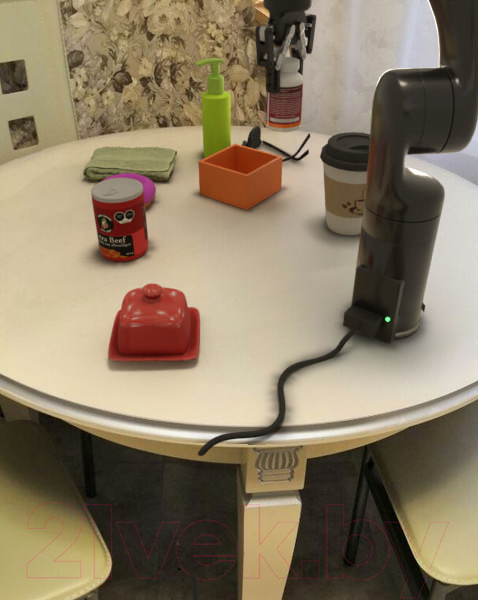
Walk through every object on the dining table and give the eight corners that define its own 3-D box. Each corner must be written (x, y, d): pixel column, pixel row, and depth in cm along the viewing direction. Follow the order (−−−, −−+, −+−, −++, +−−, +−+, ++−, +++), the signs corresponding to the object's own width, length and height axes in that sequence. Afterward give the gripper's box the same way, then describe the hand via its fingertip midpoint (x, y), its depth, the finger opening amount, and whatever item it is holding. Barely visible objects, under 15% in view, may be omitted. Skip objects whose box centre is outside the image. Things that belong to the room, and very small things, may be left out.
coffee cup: (329, 245, 101) (337, 159, 93) (305, 215, 110) (310, 133, 102) (392, 236, 104) (406, 151, 95) (363, 207, 113) (373, 126, 104)
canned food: (90, 255, 99) (79, 192, 92) (120, 234, 104) (112, 173, 98) (129, 267, 96) (121, 203, 89) (158, 244, 102) (152, 182, 95)
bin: (247, 210, 112) (247, 176, 108) (199, 194, 117) (198, 161, 113) (281, 189, 119) (282, 156, 115) (234, 174, 125) (234, 143, 121)
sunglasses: (303, 179, 123) (304, 155, 120) (233, 172, 126) (233, 148, 123) (317, 149, 136) (318, 126, 133) (253, 143, 139) (253, 121, 136)
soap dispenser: (195, 153, 134) (190, 57, 122) (224, 148, 136) (222, 53, 125) (205, 163, 129) (201, 64, 118) (235, 158, 132) (234, 60, 120)
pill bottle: (308, 128, 105) (312, 61, 99) (278, 136, 102) (281, 67, 96) (286, 118, 109) (289, 53, 103) (257, 125, 107) (258, 58, 100)
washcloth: (171, 183, 121) (170, 168, 119) (82, 183, 121) (79, 167, 120) (178, 158, 132) (177, 143, 130) (96, 157, 132) (94, 142, 130)
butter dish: (201, 313, 86) (198, 260, 81) (199, 368, 77) (196, 312, 72) (118, 314, 86) (111, 262, 81) (106, 370, 76) (97, 314, 71)
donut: (149, 216, 110) (147, 192, 107) (93, 213, 111) (90, 189, 108) (161, 191, 118) (159, 169, 116) (109, 189, 119) (106, 166, 117)
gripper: (283, -18, 86) (278, 103, 95) (335, -30, 95) (326, 81, 105) (240, -23, 90) (240, 94, 99) (294, -33, 99) (289, 74, 109)
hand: (284, 87), depth 102 cm, fingers closed on pill bottle, 6 cm apart
